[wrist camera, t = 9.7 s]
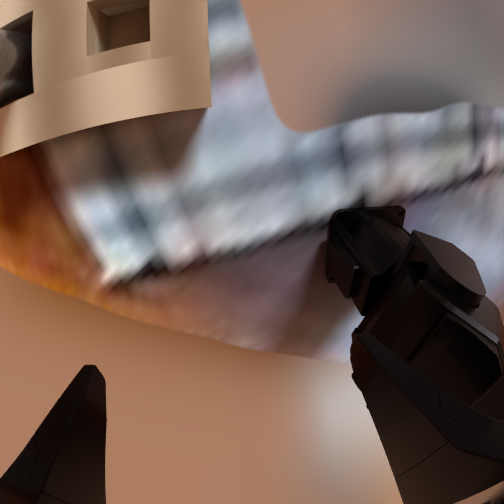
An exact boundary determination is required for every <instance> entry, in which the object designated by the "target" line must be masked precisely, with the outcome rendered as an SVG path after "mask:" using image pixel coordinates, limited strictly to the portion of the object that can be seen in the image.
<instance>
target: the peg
mask: <svg viewBox="0 0 504 504" xmlns="http://www.w3.org/2000/svg"><path fill="white" fill-rule="evenodd" d="M33 93H34V85H33V69H32V35H31V34H26V33H20V32H15V31H9V30H2V29H0V102H1V101H7V100H12V99H18V98H24V97H26V96H28V95H31V94H33Z"/></svg>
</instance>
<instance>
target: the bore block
mask: <svg viewBox="0 0 504 504" xmlns="http://www.w3.org/2000/svg"><path fill="white" fill-rule="evenodd" d="M0 29H2V30H9V31H15V32H20V33H26V34H31V35H32V69H33V85H34V93H33V94H31V95H28V96H26V97H24V98H18V99H12V100H7V101H1V102H0V157H2V156H4V155H7V154H9V153H12V152H14V151H17V150H20V149H22V148H25V147H28V146H31V145H33V144H36V143H39V142H42V141H45V140H48V139H51V138H55V137H58V136H61V135H65V134H68V133H72V132H75V131H79V130H83V129H86V128H90V127H94V126H98V125H103V124H107V123H111V122H116V121H121V120H126V119H131V118H136V117H142V116H147V115H153V114H160V113H166V112H173V111H181V110H189V109H198V108H208V107H212V102H211V84H210V64H209V40H208V9H207V0H0Z"/></svg>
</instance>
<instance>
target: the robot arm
mask: <svg viewBox="0 0 504 504" xmlns="http://www.w3.org/2000/svg"><path fill="white" fill-rule="evenodd" d="M400 211H401V212H400ZM399 212H400V213H399ZM398 213H399V214H398ZM405 213H406V211H405V209H404V208H403V207H402V206H383V207H366V208H350V209H339V210H337V211H336V212H335V213H334V216H333V225H332V233H331V237H330V238H329V240H328V248H327V256H326V264H325V266H326V268H327V272H326V279H327V280H328V282H329V283H335V282H336V284H337V286H338V287H339V289H340V291H341V292H342V294H343V296H344V297H345V298H346V299H349V298H351V299H352V301H353V302H354V304H355V306H356V307H357V309H358V311H359V312H360V314H361V315H362V316H365V317H364V318H363V320H362V322H361V323H360V325H359V326H358V327H357V328H355V330H354V331H353V333H352V345H351V348H350V354H351V356H350V360H351V364H352V368H353V373H352V379H353V380H354V382H355V384H356V385H357V387H358V388H359V389H360V391H361V392H362V394H363V397H364V399H365V402H366V404H367V406H366V407H367V409H368V410H369V412H370V414H371V416H372V419H373V422H374V424H375V426H376V429H377V432H378V434H379V437H380V440H381V442H382V445H383V447H384V450H385V453H386V456H387V458H388V461H389V464H390V466H391V469H392V472H393V475H394V477H395V481H396V484H397V486H398V489H399V492H400V495H401V498H402V501H403V504H504V325H503V322H502V318H501V315H500V312H499V309H498V307H497V306H496V305H495V304H494V303H493V302H492V301H490V300H489V299H488V298H487V297H486V296H485V294H486V290H485V287H484V284H483V282H482V279H481V276H480V274H479V271H478V269H477V267H476V264H475V262H474V261H473V260H472V259H471V258H470V257H469V256H468V255H466V254H465V253H464V252H463V251H461V250H460V249H459V248H457V247H456V246H455V245H453V244H452V243H449V242H447V241H444V240H441V239H439V238H436V237H433V236H430V235H427V234H425V233H422V232H419V231H416V230H413V231H412V233H411V234H410V233H409V232H408V231H406V230H405V229H404V228H403V223H404V218H405ZM342 214H343V216H342V217H341V218H339V216H340V215H342ZM331 277H332V278H331ZM106 422H107V419H106V383H105V379H104V377H103V375H102V374H101V372H100V371H99V369H98V368H97V367H96V366H95V365H84V366H83V367H82V369H81V370H80V371H79V373H78V374H77V375H76V376H75V378H74V379H73V381H72V382H71V383H70V384H69V386H68V387H67V389H66V390H65V391H64V392H63V394H62V395H61V397H60V398H59V399H58V401H57V402H56V403H55V405H54V406H53V408H52V409H51V410H50V412H49V413H48V415H47V416H46V418H45V419H44V420H43V422H42V423H41V425H40V426H39V428H38V429H37V430H36V432H35V434H34V435H33V437H32V438H31V439H30V441H29V442H28V444H27V445H26V447H25V448H24V449H23V451H22V452H21V453H20V455H19V456H18V457H17V459H16V460H15V461H14V462H13V464H12V465H11V466H10V467H9V468H8V470H7V471H6V472H5V473H4V475H3V476H2V477H1V478H0V504H106V494H105V445H106Z"/></svg>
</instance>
